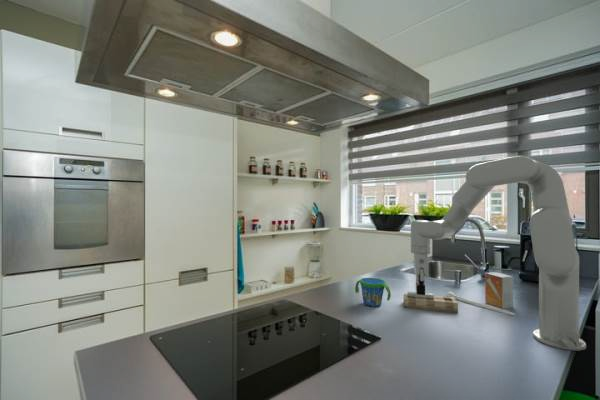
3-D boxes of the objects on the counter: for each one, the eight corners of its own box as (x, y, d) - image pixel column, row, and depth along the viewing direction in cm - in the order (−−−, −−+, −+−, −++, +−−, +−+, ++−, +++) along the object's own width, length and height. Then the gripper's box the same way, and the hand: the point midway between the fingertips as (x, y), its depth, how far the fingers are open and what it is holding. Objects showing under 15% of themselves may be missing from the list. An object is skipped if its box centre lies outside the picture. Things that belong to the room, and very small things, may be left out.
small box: (484, 302, 130) (484, 272, 130) (495, 301, 132) (495, 271, 132) (502, 308, 122) (502, 277, 122) (513, 307, 124) (513, 276, 124)
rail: (457, 312, 117) (457, 302, 117) (404, 307, 123) (404, 298, 123) (454, 307, 124) (454, 297, 124) (403, 302, 130) (403, 293, 130)
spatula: (518, 315, 116) (518, 308, 116) (513, 317, 114) (513, 310, 114) (449, 296, 140) (449, 290, 140) (444, 297, 137) (444, 291, 137)
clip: (433, 306, 122) (433, 285, 122) (408, 304, 124) (408, 283, 124) (432, 304, 124) (432, 283, 125) (407, 301, 127) (407, 281, 127)
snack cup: (395, 306, 125) (395, 281, 125) (381, 312, 118) (381, 286, 118) (364, 297, 136) (364, 275, 136) (350, 302, 129) (350, 279, 129)
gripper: (432, 253, 116) (433, 300, 115) (427, 247, 131) (427, 288, 131) (412, 252, 118) (412, 298, 118) (409, 246, 134) (409, 287, 133)
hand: (420, 292), depth 124 cm, fingers open, 3 cm apart
